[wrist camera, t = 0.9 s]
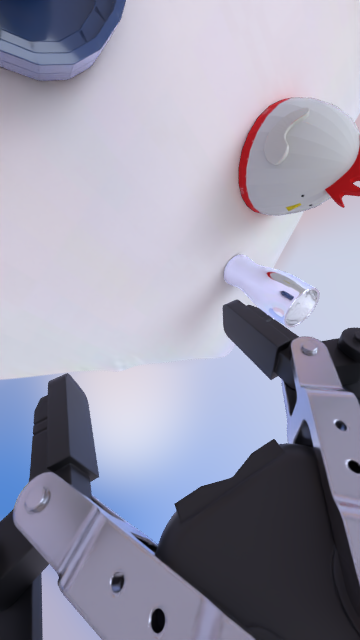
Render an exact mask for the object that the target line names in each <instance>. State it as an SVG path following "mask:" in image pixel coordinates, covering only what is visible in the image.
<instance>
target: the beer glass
mask: <svg viewBox="0 0 360 640" xmlns="http://www.w3.org/2000/svg"><path fill="white" fill-rule="evenodd" d="M224 279H225V281H226V282H227V283H228V284H230V285H232V286H235V287H237V288H239V289H240V290H242V291H243V292H244V293H245V294H246V295H247V296H248V298H249V299H250V300H251V301H252V302H253V303H254V304H255V305H256V306H257V307H258V308H259V309H261V310H262V311H264V312H265V313H266V314H267V315H269V316H270V317H272V318H274V319H275V320H277V321H279V322H280V323H282V324H284V325H285V326H287V327H294V326H297V325H299V324H300V323H301V322H303V321H304V320H305V319H306V318H307V317H308V316H309V315H310V314H311V313H312V311H313V310H314V308H315V307H316V305H317V303H318V300H319V295H320V293H319V291H318V289H316V288H314V287H312V286H311V285H309V284H307V283H306V282H304V281H303V280H301V279H299V278H297V277H295V276H293V275H291V274H289V273H287V272H284V271H281V270H277V269H274V268H270V267H266V266H262V265H259V264H257V263H255V262H254V261H252V260H251V259H250V258H249V257H248V256H246V255H244V254H239V255H236V256H234V257H233V258H232V259H231V260H230V261H229V262H228V263H227V265H226V267H225V270H224Z"/></svg>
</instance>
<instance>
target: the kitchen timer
mask: <svg viewBox="0 0 360 640" xmlns="http://www.w3.org/2000/svg"><path fill="white" fill-rule="evenodd" d="M356 181H360V133H359V131H358V128H357V126H356V124H355V122H354V121H353V120H352V119H351V117H350V116H349V115H347V114H346V113H345V112H344V111H342V110H341V109H340V108H338V107H337V106H335V105H333V104H330V103H327V102H324V101H321V100H318V99H314V98H288V99H284V100H280V101H278V102H276V103H274V104H272V105H270V106H269V107H268V108H267V109H266V110H265V111H264V112H263V113H262V114H261V115H260V116H259V117H258V118H257V120H256V122H255V123H254V125H253V126H252V128H251V130H250V131H249V133H248V136H247V138H246V141H245V144H244V146H243V149H242V153H241V158H240V164H239V187H240V191H241V196H242V198H243V200H244V202H245V203H246V205H247V206H248V207H249V208H250V209H252V210H253V211H254V212H258V213H262V214H267V215H285V214H291V213H297V212H301V211H305V210H309V209H311V208H315V207H317V206H319V205H320V204H322V203H323V202H325V201H327V200H328V199H330V198H332V199H333V200H334V201H335V202H336V203H337V204H338V205H339V206H341V207H343V208H344V204H343V202H342V197H343V196H344V195H352V196H360V188H359V187H357V186H355V185H354V184H353V183H354V182H356Z"/></svg>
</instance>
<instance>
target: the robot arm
mask: <svg viewBox="0 0 360 640" xmlns="http://www.w3.org/2000/svg"><path fill="white" fill-rule="evenodd" d="M223 327H224V331H225V333H226V335H227V336H228V337H229V338H230V339H231V340H232V341H233V342H234V343H235V344H236V345H237V346H238V347H239V348H240V349H241V350H242V351H243V352H244V353H245V354H246V355H247V356H248V357H249V358H250V359H251V360H252V361H253V362H254V363H255V364H256V365H257V366H258V367H259V368H260V369H261V370H262V371H263V373H264V374H266V376H268V378H269V379H270V380H272V379H274V378H275V377H277V376H279V377H280V378H281V379H282V389H283V396H284V402H285V407H286V414H287V440H288V443H286V444H278V443H277V442H276V441H275V439H273V440H271V441H270V442H268V443H267V444H265V445H264V446H262V447H261V448H259V449H258V450H256V451H255V452H253V453H252V454H251V455H250V456H249V458H248V459H247V460H246V461H245V463H244V464H243V465H242V467H241V468H240V469H239V470H238V471H237V473H236V474H235V475H234V476H233V477H232V478H230V479H226V480H223V481H219V482H215V483H212V484H208V485H204V486H201V487H200V488H198V489H197V490H195V491H193V492H192V493H191V494H189V495H187V496H186V497H184V498H183V499H181V500H180V501H178V502H177V503H175V507H176V510H177V511H176V513H175V514H174V515H173V516H172V517H171V519H170V520H169V522H168V524H167V525H166V527H165V529H164V531H163V533H162V536H161V538H160V541H159V544H157V543H156V542H154V541H153V540H152V539H150V538H149V537H148V536H146V535H145V534H144V533H142V532H141V531H140V530H138V529H137V528H135V527H134V526H132V525H131V524H129V523H128V522H127V521H125V520H124V519H123V518H121V517H120V516H119V515H118V514H116V513H115V512H114V511H112V510H111V509H110V508H109V507H107V506H106V505H105V504H103V503H102V502H101V501H100V500H98V499H97V498H96V497H94V496H93V495H92V494H91V485H90V482H91V481H93V480H94V479H96V478H98V477H99V473H98V466H97V460H96V453H95V447H94V439H93V432H92V425H91V418H90V411H89V405H88V400H87V398H86V395H85V393H84V392H83V391H82V389H81V388H80V387H79V385H78V384H77V383H76V382H75V381H74V379H73V378H72V377H71V376H70V375H69V374H68V373H67V374H64V375H62V376H60V377H58V378H55V379H53V380H51V381H49V383H48V395H47V396H45V397H42V398H41V399H40V401H39V403H38V405H37V407H36V409H35V414H34V427H33V434H34V436H33V441H32V454H31V468H30V478H29V483H28V484H27V485H26V486H25V487H24V489H23V490H22V491H21V493H20V495H19V497H18V499H17V501H16V504H15V506H14V509H13V510H12V511H11V512H10V513H9V514H8V515H7V516H6V517H5V518H4V519H3V520H2V521H1V522H0V640H42V585H41V572H42V571H43V570H44V569H45V568H46V567H47V566H48V565H49V564H50V565H51V566H52V567H53V569H54V570H55V571H56V572H57V574H58V576H59V579H58V586H59V588H60V590H61V592H62V593H63V595H64V596H65V597H66V598H67V600H68V601H69V602H70V603H71V604H72V605H73V606H74V608H75V609H76V610H77V611H78V612H79V613H80V615H81V616H82V617H83V618H84V619H85V620H86V621H87V623H88V624H89V625H90V626H91V627H92V628H93V630H94V631H95V632H96V633H97V634H98V635H99V636H100V638H101V639H102V640H360V328H348V329H346V330H344V331H343V332H342V335H341V337H340V338H339V339H332V340H327V341H319V340H318V339H315V338H312V337H299V336H297V335H296V334H294V333H293V332H291V331H290V330H289V329H287V328H285V327H284V326H283V325H282V324H280V323H279V322H277V321H276V320H275V319H274V320H273V318H272V317H270V316H269V315H267V314H266V313H265V312H264V311H262V310H261V309H259V308H257V307H254V306H251V305H247V306H246V305H244V304H243V303H242V302H240V301H239V300H234V301H232V302H230V303H228V304H225V305H224V306H223Z"/></svg>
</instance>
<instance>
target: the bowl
mask: <svg viewBox="0 0 360 640" xmlns="http://www.w3.org/2000/svg"><path fill="white" fill-rule="evenodd" d="M125 2H126V0H0V66H1V67H3V68H5V69H7V70H10V71H13V72H16V73H19V74H22V75H24V76H27V77H30V78H33V79H36V80H39V81H50V80H68V79H71V78H72V77H74V76H76V75H78V74H79V73H81V72H83V71H84V70H86V69H88V68H90V67H91V66H92V65H93V63H94V62H95V60H96V59H97V57H98V56H99V54H100V53H101V51H102V50H103V48H104V47H105V45H106V44H107V42H108V41H109V39H110V37H111V35H112V34H113V32H114V30H115V29H116V27H117V25H118V23H119V22H120V20H121V17H122V13H123V10H124V6H125Z"/></svg>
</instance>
